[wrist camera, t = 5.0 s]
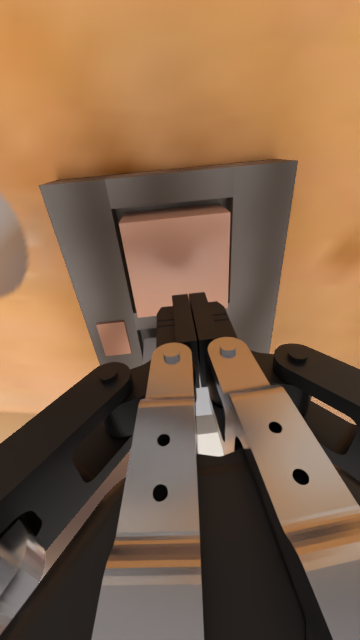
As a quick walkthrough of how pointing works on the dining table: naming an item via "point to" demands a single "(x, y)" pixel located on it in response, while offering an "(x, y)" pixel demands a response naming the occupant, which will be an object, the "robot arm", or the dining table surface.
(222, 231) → the terracotta key
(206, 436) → the cream key
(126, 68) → the dining table surface
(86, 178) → the keypad board
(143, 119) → the dining table surface
